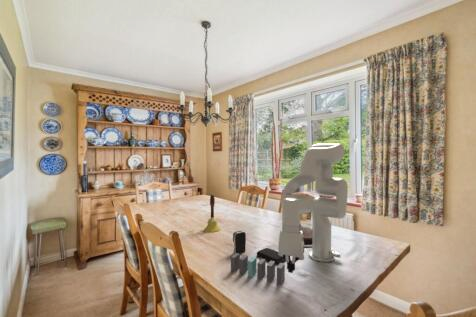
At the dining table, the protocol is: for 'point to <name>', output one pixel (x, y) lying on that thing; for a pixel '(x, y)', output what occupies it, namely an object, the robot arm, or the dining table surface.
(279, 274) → the domino
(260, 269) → the domino
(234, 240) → the battery charger
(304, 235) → the chocolate cake
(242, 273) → the domino
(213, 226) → the handbell
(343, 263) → the dining table surface
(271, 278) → the domino
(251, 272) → the domino
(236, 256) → the domino
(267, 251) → the carrying case or bag
